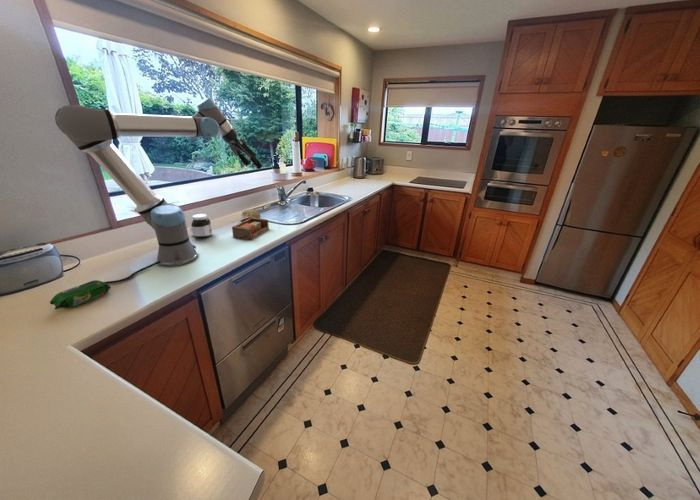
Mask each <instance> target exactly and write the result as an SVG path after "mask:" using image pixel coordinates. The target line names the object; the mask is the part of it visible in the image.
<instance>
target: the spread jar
mask: <svg viewBox="0 0 700 500" xmlns="http://www.w3.org/2000/svg"><path fill="white" fill-rule="evenodd" d="M191 217H192V221H191V224H190V226H189V231H190V232H191V233H192V235H193V237H194V238H196V239H202V240H203V239H207V238H210V237H211V236H212V233H213V227H212V221H211V220H210V219H209V218H208V215H207V213H197V214H193V215H192V216H191Z"/></svg>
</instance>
